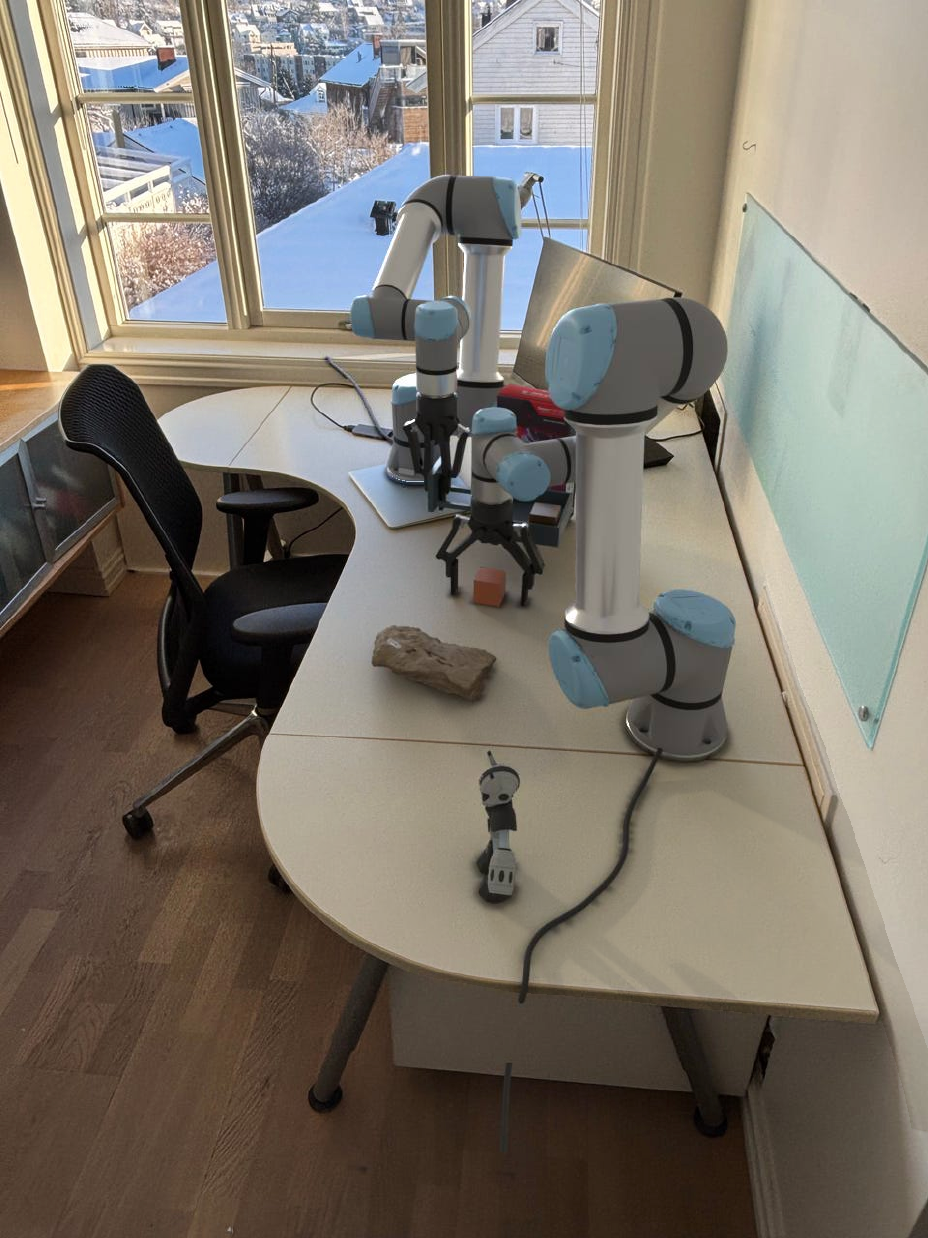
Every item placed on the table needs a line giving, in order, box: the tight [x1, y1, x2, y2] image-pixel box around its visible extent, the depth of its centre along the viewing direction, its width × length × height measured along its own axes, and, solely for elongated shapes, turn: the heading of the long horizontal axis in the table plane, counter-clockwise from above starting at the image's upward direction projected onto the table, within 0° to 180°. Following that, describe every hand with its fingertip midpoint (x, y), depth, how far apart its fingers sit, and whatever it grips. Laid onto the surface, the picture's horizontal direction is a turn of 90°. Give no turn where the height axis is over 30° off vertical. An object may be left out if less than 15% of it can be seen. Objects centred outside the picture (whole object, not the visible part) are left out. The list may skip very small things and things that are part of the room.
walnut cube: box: [529, 502, 561, 526], centre depth 173 cm, size 5×5×5 cm
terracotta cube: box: [472, 566, 507, 608], centre depth 173 cm, size 5×5×5 cm
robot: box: [475, 750, 521, 904], centre depth 113 cm, size 20×5×20 cm, turn 3°
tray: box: [427, 456, 574, 548], centre depth 177 cm, size 26×15×10 cm, turn 75°
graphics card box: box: [497, 383, 576, 520], centre depth 195 cm, size 17×7×27 cm, turn 62°
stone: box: [371, 624, 498, 702], centre depth 153 cm, size 21×15×6 cm
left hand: (437, 506), depth 182 cm, fingers closed on tray
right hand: (489, 597), depth 175 cm, fingers open, 13 cm apart
